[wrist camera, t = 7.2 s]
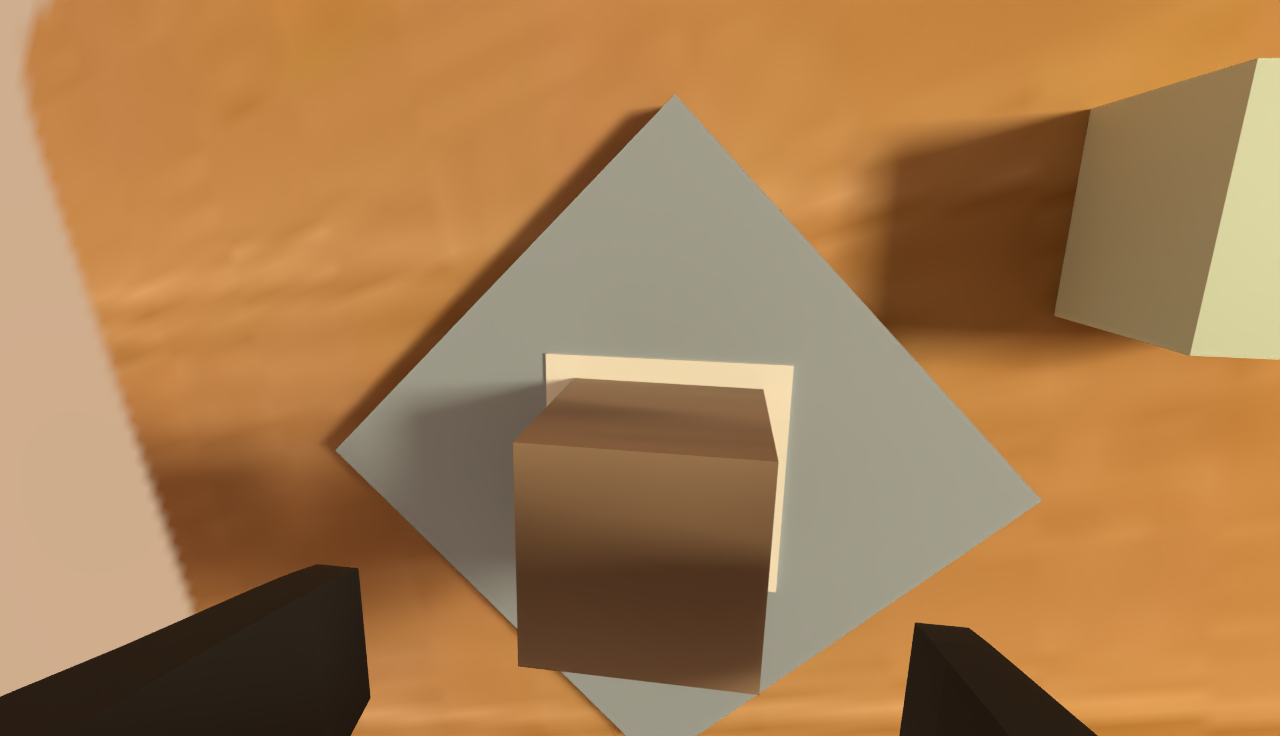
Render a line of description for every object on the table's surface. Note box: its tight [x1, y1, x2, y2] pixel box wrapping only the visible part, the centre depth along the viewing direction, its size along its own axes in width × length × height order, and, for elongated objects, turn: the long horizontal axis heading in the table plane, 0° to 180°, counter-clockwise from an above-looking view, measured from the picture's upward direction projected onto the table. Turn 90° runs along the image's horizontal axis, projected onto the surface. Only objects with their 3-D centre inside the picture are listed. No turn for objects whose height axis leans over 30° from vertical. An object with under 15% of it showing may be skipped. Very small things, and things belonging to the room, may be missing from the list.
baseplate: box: [335, 95, 1042, 736], centre depth 14 cm, size 11×11×1 cm
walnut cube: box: [513, 378, 779, 695], centre depth 12 cm, size 4×4×4 cm
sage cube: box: [1054, 58, 1280, 359], centre depth 10 cm, size 4×4×4 cm
